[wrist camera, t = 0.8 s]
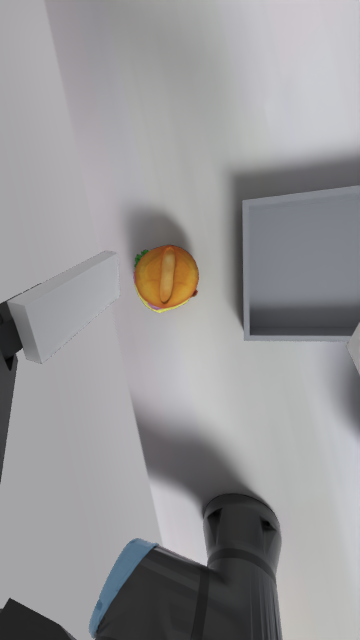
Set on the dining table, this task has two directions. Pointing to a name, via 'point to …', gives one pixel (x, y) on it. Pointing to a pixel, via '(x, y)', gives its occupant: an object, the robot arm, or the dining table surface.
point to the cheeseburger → (165, 277)
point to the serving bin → (302, 266)
